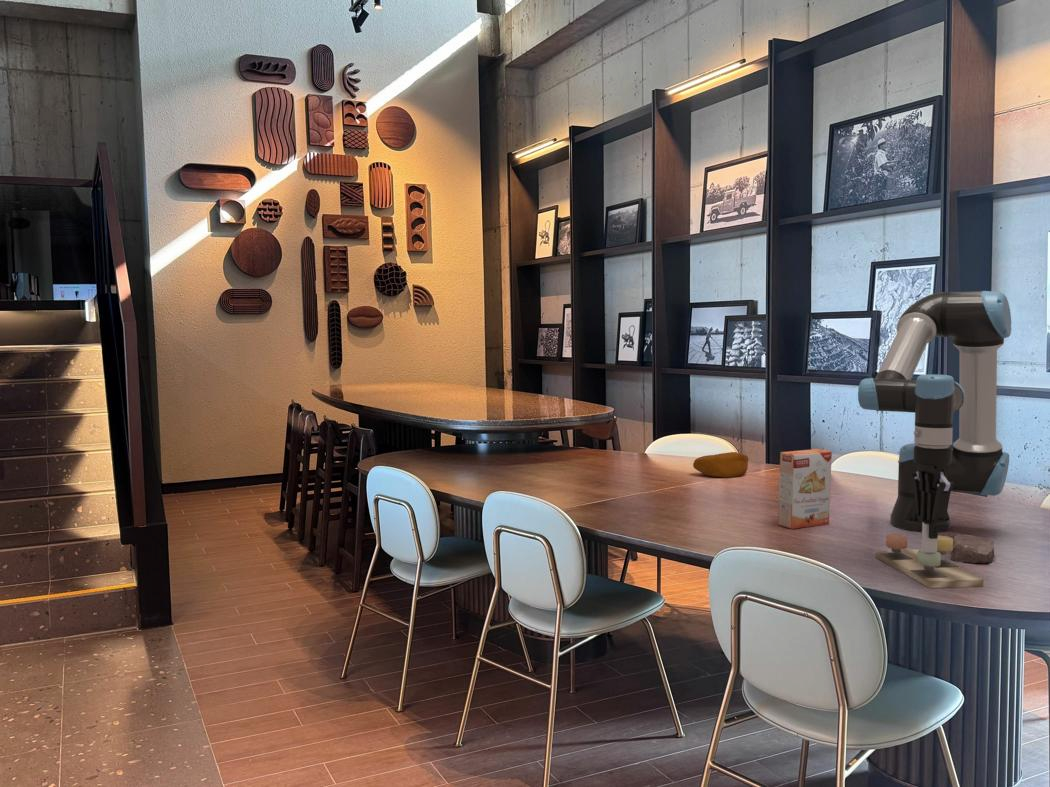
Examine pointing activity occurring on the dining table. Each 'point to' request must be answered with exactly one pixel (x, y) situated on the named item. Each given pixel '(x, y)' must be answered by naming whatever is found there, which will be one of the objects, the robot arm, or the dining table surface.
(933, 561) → the sage button
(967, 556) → the stone
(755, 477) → the dining table surface
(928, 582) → the board
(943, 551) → the ochre button
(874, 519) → the dining table surface
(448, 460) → the dining table surface
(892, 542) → the terracotta button
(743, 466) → the bread
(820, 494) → the cracker box
